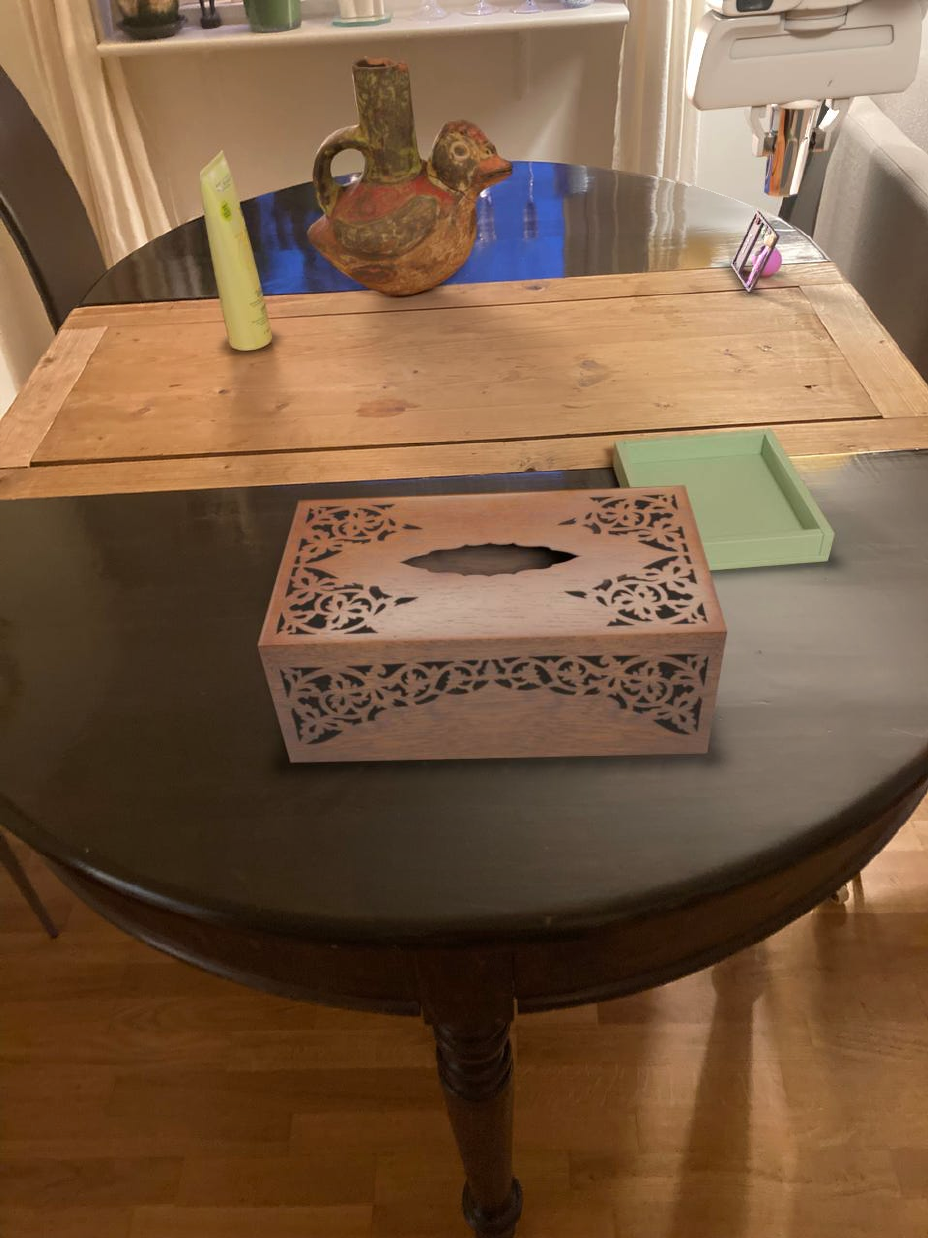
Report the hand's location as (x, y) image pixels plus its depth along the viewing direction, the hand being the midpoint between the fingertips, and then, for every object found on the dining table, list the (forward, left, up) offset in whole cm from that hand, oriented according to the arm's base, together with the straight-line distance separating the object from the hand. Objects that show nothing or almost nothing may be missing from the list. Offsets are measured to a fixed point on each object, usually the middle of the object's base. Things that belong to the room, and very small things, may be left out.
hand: (789, 152), depth 88 cm
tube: (+56, -8, -18) cm, 60 cm away
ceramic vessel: (+37, -21, -18) cm, 47 cm away
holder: (+13, +32, -18) cm, 39 cm away
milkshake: (0, 0, -4) cm, 4 cm away
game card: (-4, -15, -18) cm, 24 cm away
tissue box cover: (+33, +49, -18) cm, 62 cm away
